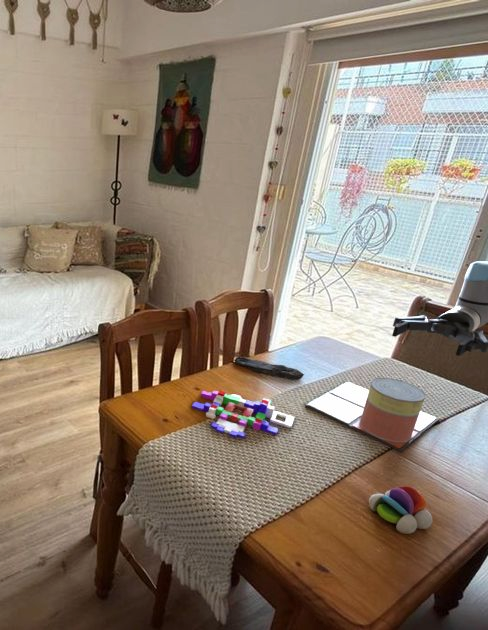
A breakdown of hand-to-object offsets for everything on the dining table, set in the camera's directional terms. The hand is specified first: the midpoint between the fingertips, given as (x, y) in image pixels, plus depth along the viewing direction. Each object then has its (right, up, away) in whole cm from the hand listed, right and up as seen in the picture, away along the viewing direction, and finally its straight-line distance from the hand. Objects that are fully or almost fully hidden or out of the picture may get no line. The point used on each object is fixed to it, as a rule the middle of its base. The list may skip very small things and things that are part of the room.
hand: (425, 340), depth 110 cm
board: (-6, -21, +12) cm, 25 cm away
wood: (-24, -13, +35) cm, 45 cm away
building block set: (-43, -22, +11) cm, 49 cm away
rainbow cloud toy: (-24, -35, -22) cm, 47 cm away
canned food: (-7, -23, +4) cm, 25 cm away
